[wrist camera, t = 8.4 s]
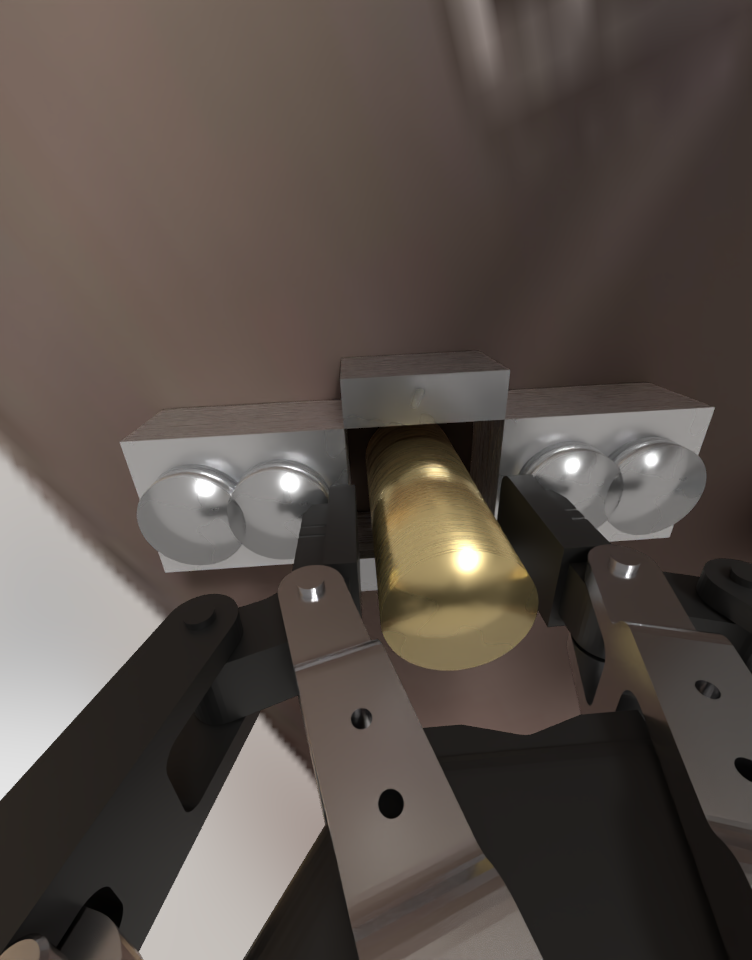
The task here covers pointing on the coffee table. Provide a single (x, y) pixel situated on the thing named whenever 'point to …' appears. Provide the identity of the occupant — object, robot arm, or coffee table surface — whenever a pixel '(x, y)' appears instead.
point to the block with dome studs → (410, 401)
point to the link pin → (441, 555)
